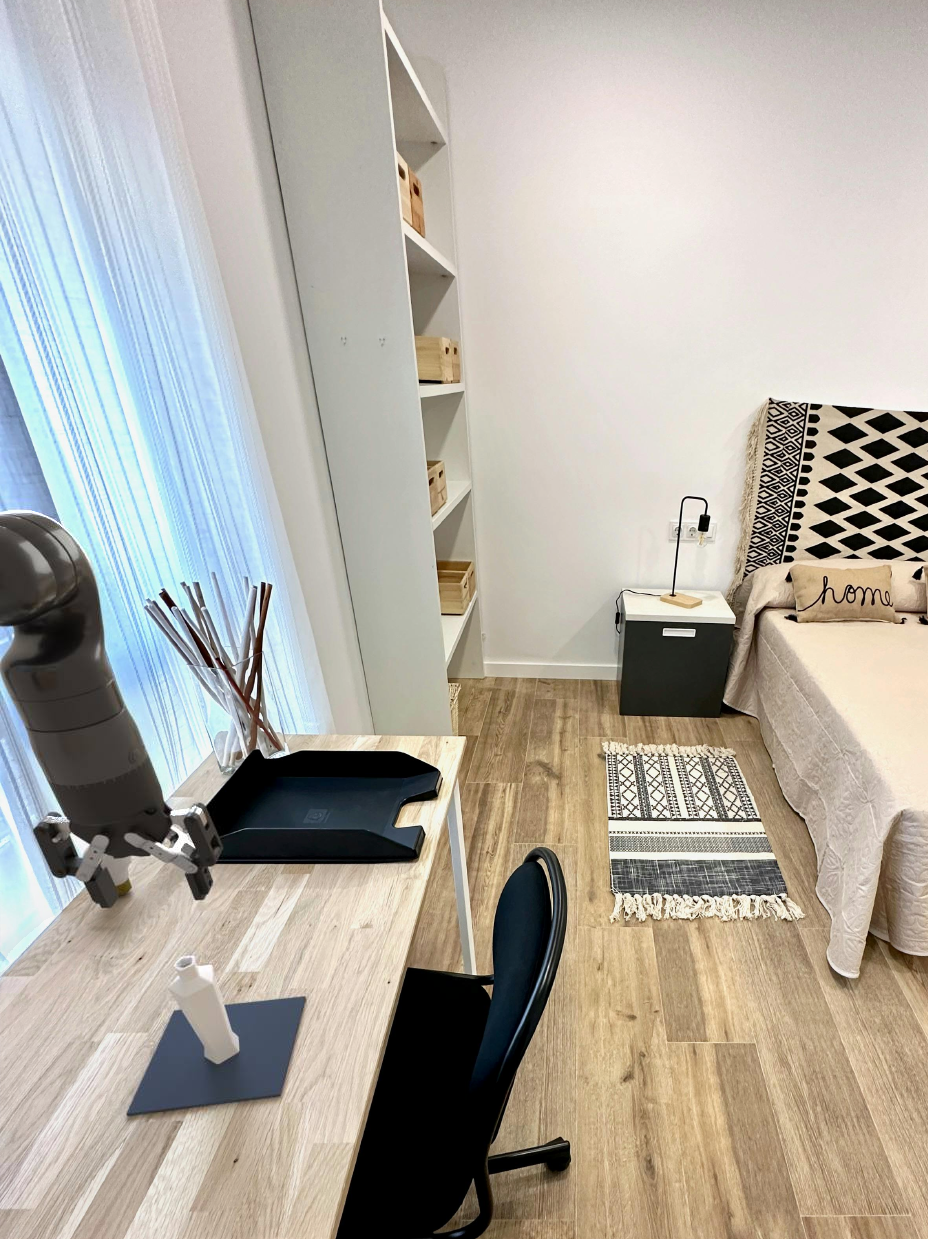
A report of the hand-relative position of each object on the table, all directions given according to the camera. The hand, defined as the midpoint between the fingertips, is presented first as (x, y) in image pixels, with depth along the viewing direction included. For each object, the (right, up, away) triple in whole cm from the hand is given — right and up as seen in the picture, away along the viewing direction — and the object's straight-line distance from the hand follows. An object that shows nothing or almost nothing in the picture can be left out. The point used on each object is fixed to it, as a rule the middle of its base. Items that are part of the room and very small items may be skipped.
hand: (157, 898), depth 66 cm
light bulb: (-30, -6, +36) cm, 47 cm away
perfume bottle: (-1, -21, +13) cm, 24 cm away
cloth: (-1, -21, +13) cm, 25 cm away
